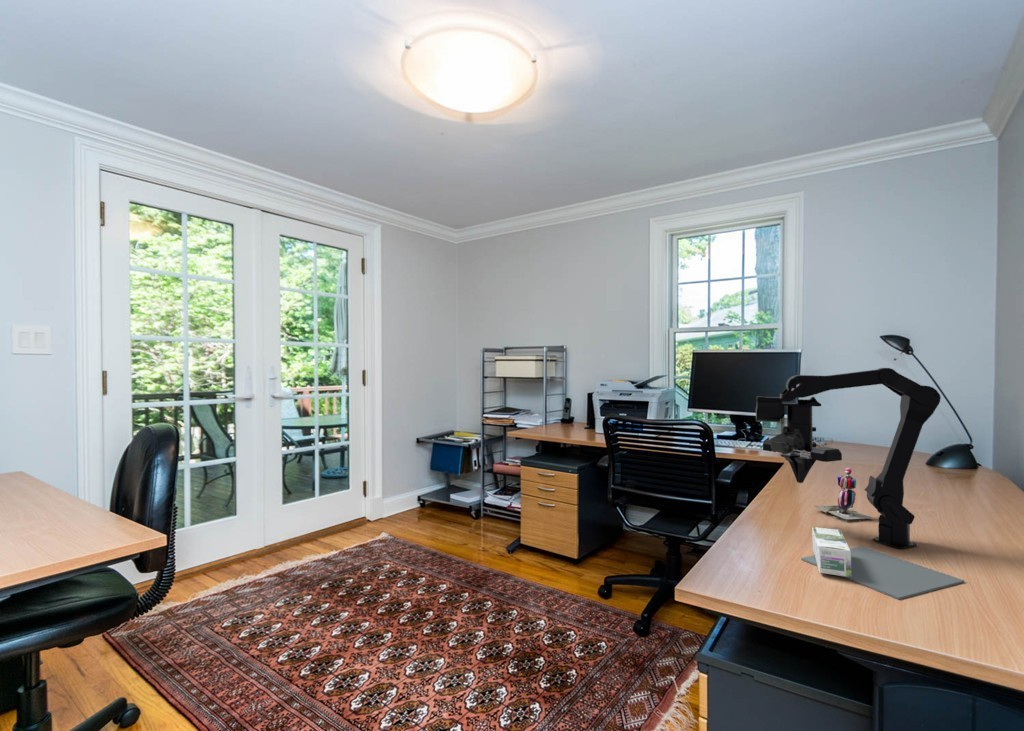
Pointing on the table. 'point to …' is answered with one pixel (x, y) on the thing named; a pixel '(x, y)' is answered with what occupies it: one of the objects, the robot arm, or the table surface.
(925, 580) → the topple mat
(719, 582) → the table surface
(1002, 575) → the table surface
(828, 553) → the syrup box
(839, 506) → the statue
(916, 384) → the robot arm
